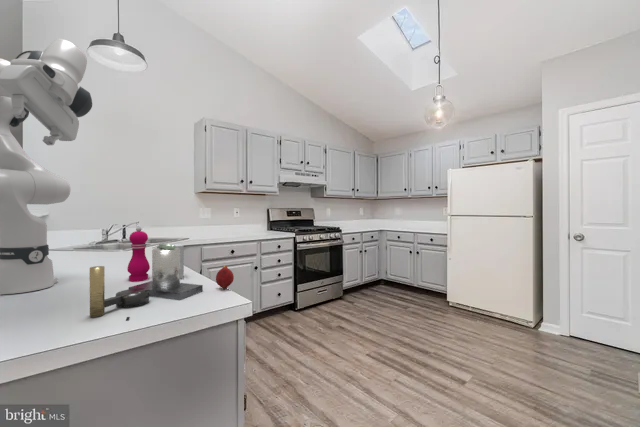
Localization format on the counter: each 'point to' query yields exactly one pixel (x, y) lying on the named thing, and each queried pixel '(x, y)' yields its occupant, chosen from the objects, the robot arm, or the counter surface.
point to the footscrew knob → (121, 299)
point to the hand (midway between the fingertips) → (33, 130)
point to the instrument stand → (167, 275)
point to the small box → (180, 258)
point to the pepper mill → (138, 256)
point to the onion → (224, 277)
